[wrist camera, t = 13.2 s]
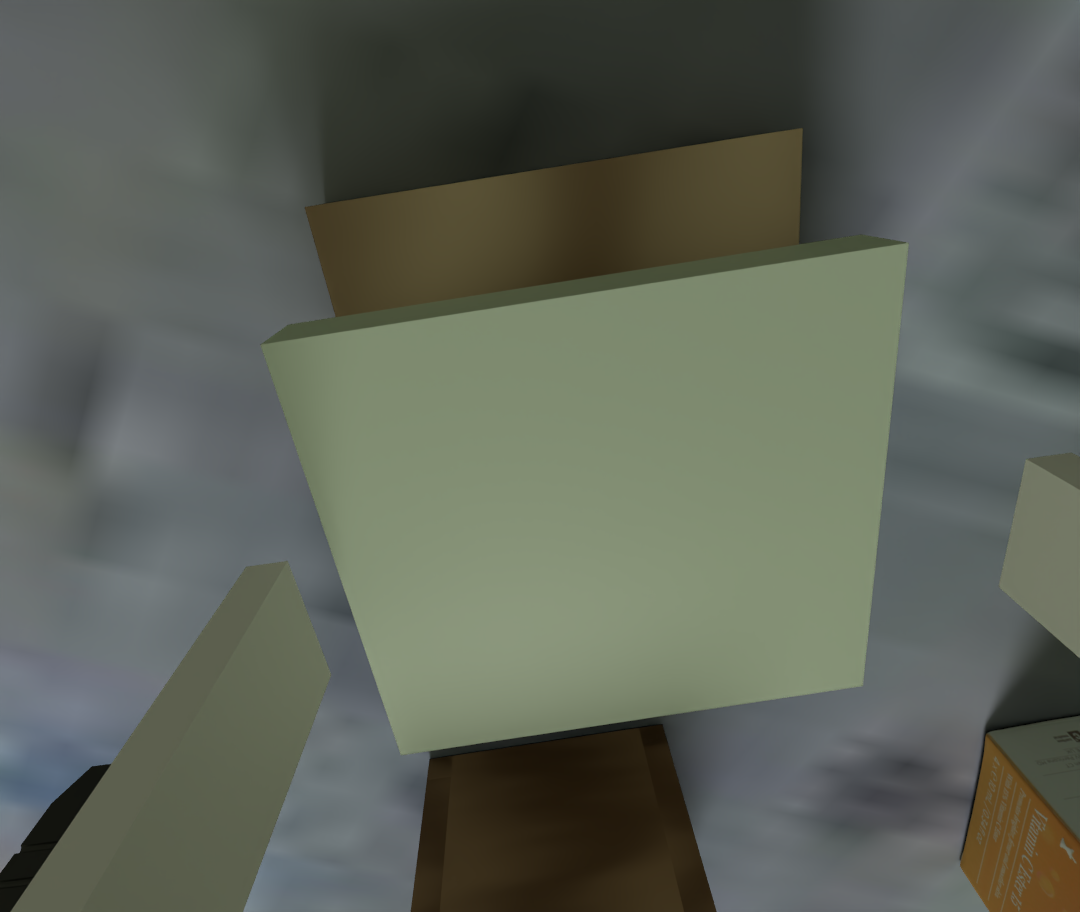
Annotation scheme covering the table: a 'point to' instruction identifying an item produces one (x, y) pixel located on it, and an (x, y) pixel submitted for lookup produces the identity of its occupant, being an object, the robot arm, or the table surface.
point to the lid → (606, 487)
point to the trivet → (560, 223)
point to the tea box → (560, 830)
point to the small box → (1027, 820)
